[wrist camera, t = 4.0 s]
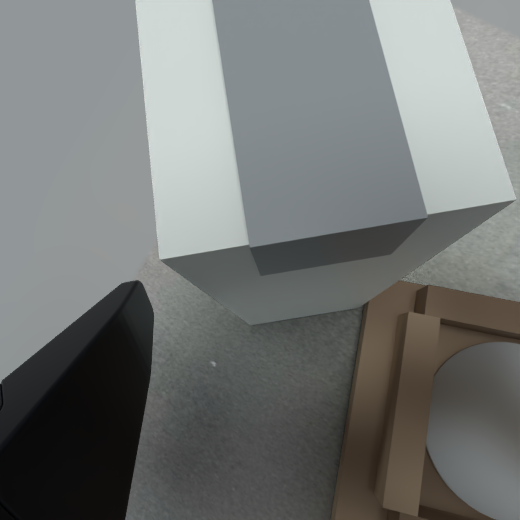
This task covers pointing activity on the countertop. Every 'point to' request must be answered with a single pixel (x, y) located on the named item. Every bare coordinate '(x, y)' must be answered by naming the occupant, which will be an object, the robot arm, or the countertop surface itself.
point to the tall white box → (312, 147)
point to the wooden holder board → (433, 409)
